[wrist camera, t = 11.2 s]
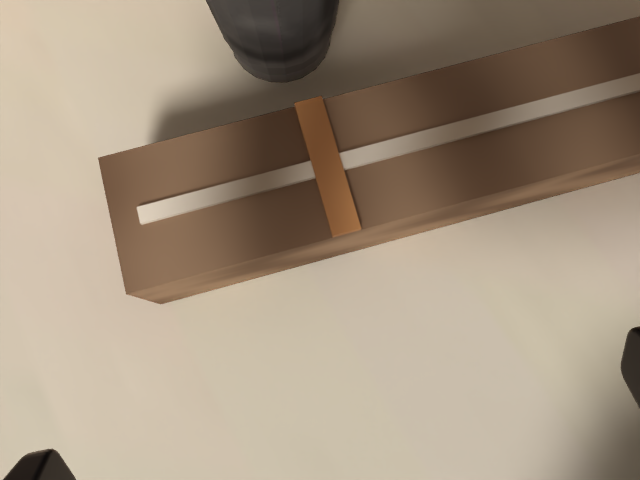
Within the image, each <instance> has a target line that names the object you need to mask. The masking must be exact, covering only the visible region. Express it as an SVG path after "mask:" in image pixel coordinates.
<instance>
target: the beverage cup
mask: <svg viewBox="0 0 640 480" xmlns="http://www.w3.org/2000/svg"><path fill="white" fill-rule="evenodd" d="M206 2H207V4H208V6H209V8H210V10H211V12H212V14H213V16H214V18H215V20H216V22H217V24H218V27H219V29H220V31H221V33H222V35H223V37H224V39H225V40H226V42H227V43H228V44H229V46H230V47H231V49H232V50H233V52H234V56H235V58H236V59H237V60H238V62H239V63H240V64H241V66H242V67H243V68H244V69H245V70H246V71H248V72H249V73H251V74H252V75H254V76H255V77H257V78H260V79H263V80H267V81H270V82H289V81H292V80H296V79H299V78H302V77H304V76H305V75H307V74H309V73H310V72H312V71H313V70H315V69H316V68H317V66H318V65H319V64H320V63H321V61H322V60H323V59H324V58H325V55H326V53H327V50H328V47H329V45H330V37H331V33H332V31H333V28H334V25H335V20H336V15H337V9H338V3H339V0H206Z"/></svg>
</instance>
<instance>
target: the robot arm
mask: <svg viewBox="0 0 640 480" xmlns="http://www.w3.org/2000/svg"><path fill="white" fill-rule="evenodd" d="M621 372H622V375H623V378H624V380H625V382H626V384H627V386H628V388H629V390H630V391H631V393H632V395H633V397H634V399H635V401H636V403H637V404H638V406H639V408H640V326H639V327H634V328H632V329H631V330H630V331H629V332H628V334H627V338H626V343H625V347H624V351H623V356H622V360H621ZM3 480H76V479H75V477H74V475H73V474H72V472H71V471H70V469H69V468H68V466H67V465H66V463H65V462H64V460H63V459H62V457H61V456H60V454H59V453H58V452H57V451H56V450H54V449H46V450H41V451H37V452H32V453H28V454H26V455H25V456H23V457H22V458H21V459H20V460H19V461H18V463H17V464H16V465H15V466H14V467H13V468H12V470H11V471H10V472H9V473H8V474H7V475H6V477H5V478H4V479H3Z"/></svg>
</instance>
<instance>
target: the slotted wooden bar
mask: <svg viewBox="0 0 640 480" xmlns="http://www.w3.org/2000/svg"><path fill="white" fill-rule="evenodd" d="M294 104H295V107H291V108H287V109H283V110H280V111H276V112H272V113H268V114H264V115H260V116H257V117H253V118H249V119H245V120H241V121H237V122H234V123H230V124H226V125H222V126H218V127H214V128H211V129H207V130H203V131H199V132H195V133H191V134H188V135H184V136H180V137H176V138H172V139H168V140H165V141H161V142H157V143H153V144H149V145H145V146H142V147H138V148H134V149H130V150H126V151H123V152H119V153H115V154H111V155H107V156H103V157H100V158H98V160H99V165H100V169H101V174H102V179H103V184H104V189H105V194H106V199H107V203H108V208H109V213H110V218H111V223H112V228H113V232H114V237H115V242H116V247H117V252H118V257H119V261H120V266H121V271H122V276H123V281H124V286H125V291H126V294H128V295H131V296H135V297H138V298H141V299H145V300H148V301H152V302H155V303H159V304H163V303H167V302H171V301H174V300H178V299H182V298H185V297H189V296H192V295H196V294H200V293H203V292H207V291H211V290H214V289H218V288H222V287H225V286H229V285H232V284H236V283H240V282H243V281H247V280H251V279H254V278H258V277H262V276H265V275H269V274H272V273H276V272H280V271H283V270H287V269H291V268H294V267H298V266H302V265H305V264H309V263H312V262H316V261H320V260H323V259H327V258H331V257H334V256H338V255H342V254H345V253H349V252H353V251H356V250H360V249H363V248H367V247H371V246H374V245H378V244H382V243H385V242H389V241H393V240H396V239H400V238H403V237H407V236H411V235H414V234H418V233H422V232H425V231H429V230H433V229H436V228H440V227H443V226H447V225H451V224H454V223H458V222H462V221H465V220H469V219H473V218H476V217H480V216H483V215H487V214H491V213H494V212H498V211H502V210H505V209H509V208H513V207H516V206H520V205H523V204H527V203H531V202H534V201H538V200H542V199H545V198H549V197H553V196H556V195H560V194H563V193H567V192H571V191H574V190H578V189H582V188H585V187H589V186H593V185H596V184H600V183H603V182H607V181H611V180H614V179H618V178H622V177H625V176H629V175H633V174H636V173H640V17H636V18H632V19H628V20H624V21H621V22H617V23H613V24H609V25H605V26H601V27H598V28H594V29H590V30H586V31H582V32H578V33H575V34H571V35H567V36H563V37H559V38H555V39H552V40H548V41H544V42H540V43H536V44H532V45H529V46H525V47H521V48H517V49H513V50H509V51H506V52H502V53H498V54H494V55H490V56H487V57H483V58H479V59H475V60H471V61H467V62H464V63H460V64H456V65H452V66H448V67H444V68H441V69H437V70H433V71H429V72H425V73H421V74H418V75H414V76H410V77H406V78H402V79H398V80H395V81H391V82H387V83H383V84H379V85H375V86H372V87H368V88H364V89H360V90H356V91H352V92H349V93H345V94H341V95H337V96H333V97H329V98H326V99H322V96H319V97H315V98H311V99H307V100H303V101H299V102H296V103H294Z"/></svg>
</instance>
